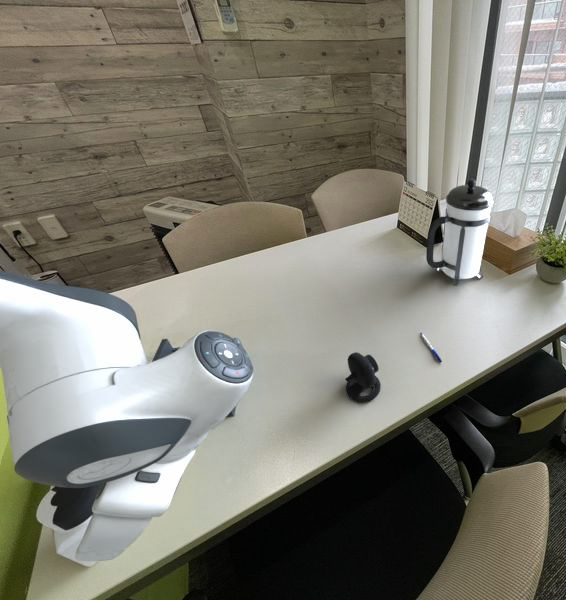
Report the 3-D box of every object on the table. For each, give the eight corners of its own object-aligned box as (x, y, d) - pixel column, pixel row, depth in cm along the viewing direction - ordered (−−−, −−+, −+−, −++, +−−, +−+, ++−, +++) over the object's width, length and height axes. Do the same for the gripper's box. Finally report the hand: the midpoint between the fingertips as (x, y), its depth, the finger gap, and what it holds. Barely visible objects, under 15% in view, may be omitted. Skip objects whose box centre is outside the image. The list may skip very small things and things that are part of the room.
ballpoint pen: (443, 362, 75) (443, 359, 75) (439, 363, 75) (440, 360, 75) (421, 333, 83) (421, 330, 82) (418, 334, 83) (418, 331, 82)
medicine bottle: (134, 491, 54) (92, 456, 46) (146, 527, 50) (101, 495, 42) (81, 527, 50) (24, 495, 42) (88, 569, 46) (27, 542, 38)
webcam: (388, 390, 69) (387, 359, 63) (360, 411, 65) (355, 379, 59) (366, 369, 74) (363, 337, 68) (338, 387, 70) (332, 355, 64)
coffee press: (441, 257, 112) (449, 167, 93) (487, 267, 107) (505, 174, 88) (424, 284, 100) (429, 186, 81) (475, 296, 95) (493, 196, 76)
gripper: (159, 360, 46) (119, 414, 50) (87, 525, 30) (37, 582, 34) (206, 374, 49) (164, 423, 53) (162, 528, 34) (108, 579, 38)
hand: (114, 487), depth 44 cm, fingers open, 8 cm apart
